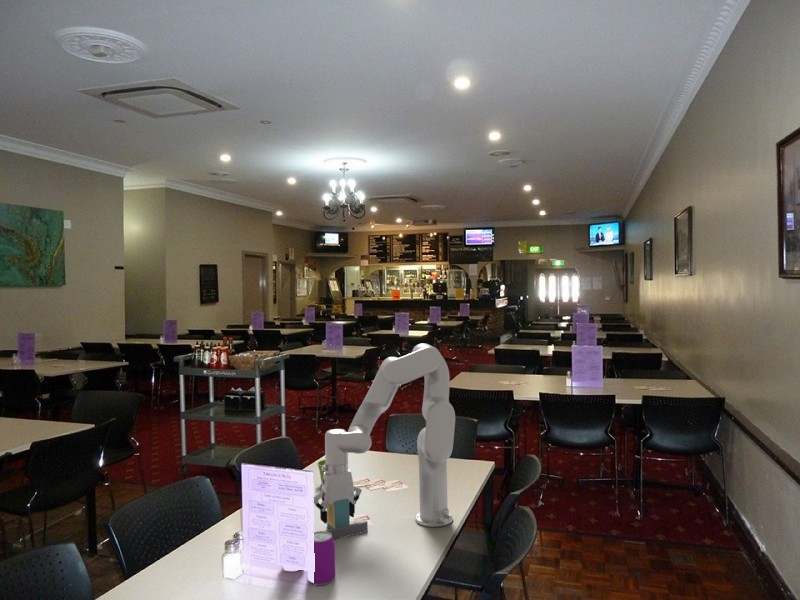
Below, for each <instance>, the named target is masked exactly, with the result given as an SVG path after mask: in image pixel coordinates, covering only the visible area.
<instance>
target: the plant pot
mask: <svg viewBox="0 0 800 600" xmlns="http://www.w3.org/2000/svg"><path fill="white" fill-rule="evenodd" d="M316 465H317V466H318V471H319V475H320V482H321V484H322V480H323V475H324V472H326V471H322V467H323V466H325V459H322V460H319V461H317V462H316Z"/></svg>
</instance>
